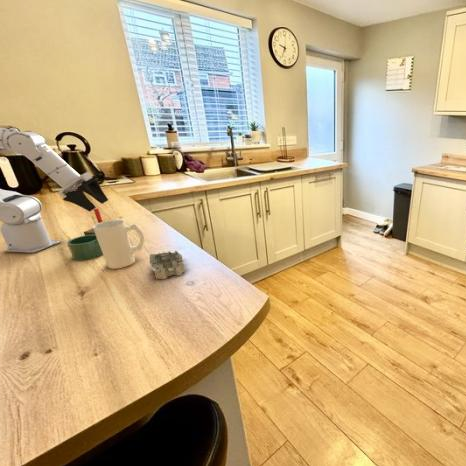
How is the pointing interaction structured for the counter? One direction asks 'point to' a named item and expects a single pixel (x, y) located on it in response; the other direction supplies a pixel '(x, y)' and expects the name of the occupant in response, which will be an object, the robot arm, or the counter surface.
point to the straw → (98, 215)
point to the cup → (85, 247)
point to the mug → (117, 242)
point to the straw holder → (89, 232)
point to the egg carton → (166, 264)
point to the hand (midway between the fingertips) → (99, 205)
